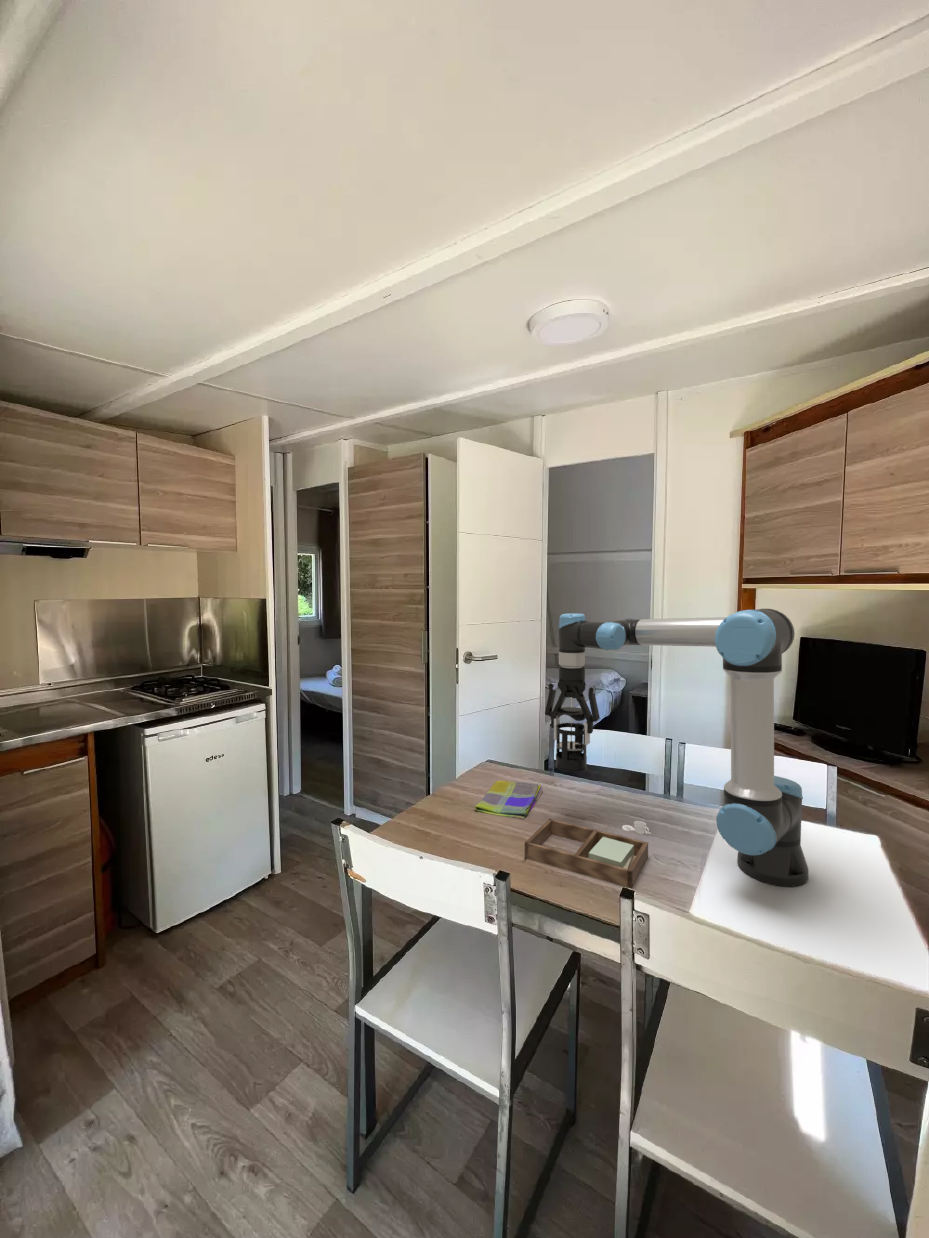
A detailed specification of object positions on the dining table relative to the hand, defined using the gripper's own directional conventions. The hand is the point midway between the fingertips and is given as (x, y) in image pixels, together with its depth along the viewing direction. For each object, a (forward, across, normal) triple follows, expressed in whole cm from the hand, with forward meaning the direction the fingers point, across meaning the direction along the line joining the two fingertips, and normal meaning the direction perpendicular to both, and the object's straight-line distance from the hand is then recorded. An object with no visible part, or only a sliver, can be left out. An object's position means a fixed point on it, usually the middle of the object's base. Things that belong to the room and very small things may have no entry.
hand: (571, 741), depth 157 cm
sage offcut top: (+21, -18, +21) cm, 35 cm away
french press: (+8, 0, 0) cm, 8 cm away
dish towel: (+25, +23, -4) cm, 34 cm away
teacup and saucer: (+25, -19, -3) cm, 32 cm away
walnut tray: (+24, -12, +20) cm, 34 cm away
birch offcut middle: (+23, -18, +21) cm, 36 cm away
